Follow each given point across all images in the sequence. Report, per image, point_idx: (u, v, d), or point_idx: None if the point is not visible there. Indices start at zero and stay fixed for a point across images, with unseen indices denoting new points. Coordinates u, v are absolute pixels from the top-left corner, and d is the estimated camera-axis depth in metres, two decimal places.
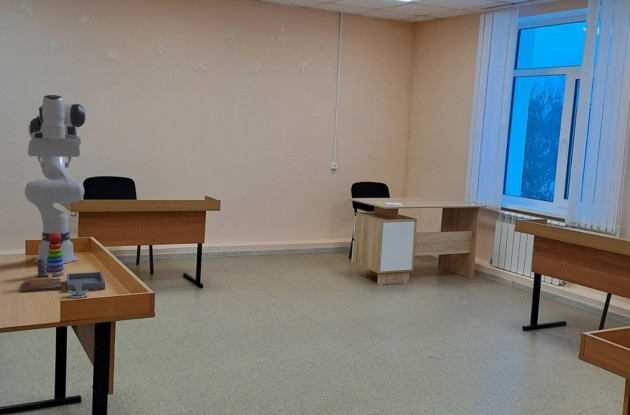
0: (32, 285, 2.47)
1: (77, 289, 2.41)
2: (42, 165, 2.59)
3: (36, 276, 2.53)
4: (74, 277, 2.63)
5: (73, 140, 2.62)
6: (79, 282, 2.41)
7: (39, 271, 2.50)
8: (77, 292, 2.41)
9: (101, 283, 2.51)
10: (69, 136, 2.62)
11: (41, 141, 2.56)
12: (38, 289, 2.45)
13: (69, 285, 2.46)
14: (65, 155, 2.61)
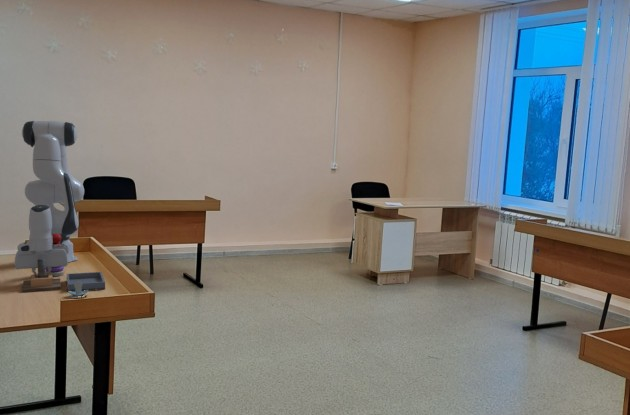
0: (32, 285, 2.47)
1: (77, 289, 2.40)
2: None
3: (36, 276, 2.53)
4: (74, 277, 2.63)
5: (61, 250, 2.57)
6: (79, 282, 2.40)
7: (39, 271, 2.50)
8: (77, 292, 2.40)
9: (101, 283, 2.51)
10: (56, 246, 2.58)
11: (28, 254, 2.52)
12: (38, 289, 2.45)
13: (69, 285, 2.46)
14: (52, 266, 2.57)
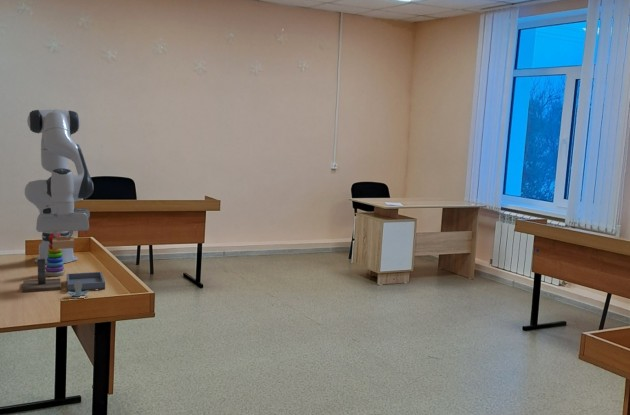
0: (54, 247, 2.46)
1: (77, 290, 2.39)
2: None
3: (58, 239, 2.52)
4: (74, 277, 2.63)
5: (82, 214, 2.56)
6: (79, 283, 2.39)
7: (39, 271, 2.50)
8: (77, 293, 2.39)
9: (101, 283, 2.51)
10: (78, 210, 2.57)
11: (49, 216, 2.51)
12: (38, 289, 2.45)
13: (69, 285, 2.46)
14: (74, 229, 2.56)
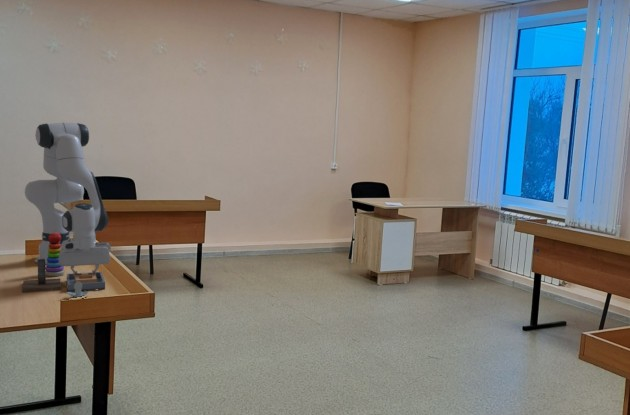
0: None
1: (77, 291, 2.38)
2: (75, 274, 2.58)
3: (80, 277, 2.56)
4: (74, 277, 2.63)
5: (103, 248, 2.60)
6: (79, 284, 2.39)
7: (39, 271, 2.50)
8: (77, 294, 2.39)
9: (101, 283, 2.51)
10: (99, 244, 2.60)
11: (72, 251, 2.55)
12: (38, 289, 2.45)
13: (69, 285, 2.46)
14: (95, 263, 2.60)
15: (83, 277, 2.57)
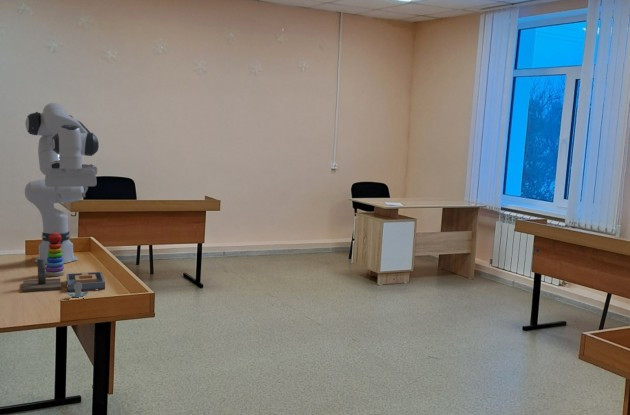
0: None
1: (77, 291, 2.38)
2: (59, 195, 2.59)
3: (80, 277, 2.56)
4: (74, 277, 2.63)
5: (90, 170, 2.61)
6: (79, 284, 2.38)
7: (39, 271, 2.50)
8: (77, 294, 2.38)
9: (101, 283, 2.51)
10: (86, 166, 2.61)
11: (58, 171, 2.56)
12: (38, 289, 2.45)
13: (69, 285, 2.46)
14: (82, 185, 2.61)
15: (83, 277, 2.57)
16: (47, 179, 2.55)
